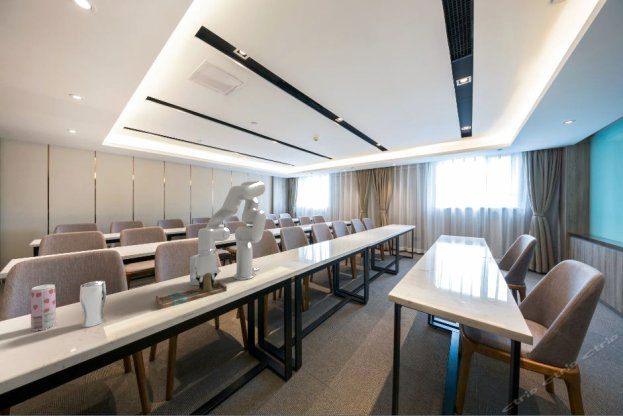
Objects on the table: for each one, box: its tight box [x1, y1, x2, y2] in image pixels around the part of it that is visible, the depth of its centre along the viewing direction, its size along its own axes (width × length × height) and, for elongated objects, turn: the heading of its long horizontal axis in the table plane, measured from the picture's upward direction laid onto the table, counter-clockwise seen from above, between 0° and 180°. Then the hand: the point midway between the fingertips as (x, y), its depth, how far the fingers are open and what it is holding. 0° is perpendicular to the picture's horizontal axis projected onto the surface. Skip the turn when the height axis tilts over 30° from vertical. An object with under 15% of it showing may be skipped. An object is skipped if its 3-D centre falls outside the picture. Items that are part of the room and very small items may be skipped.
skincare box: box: [189, 254, 199, 286], centre depth 123 cm, size 8×7×16 cm
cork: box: [199, 273, 214, 294], centre depth 110 cm, size 6×6×11 cm
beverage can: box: [30, 283, 57, 332], centre depth 78 cm, size 6×6×15 cm
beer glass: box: [79, 280, 107, 328], centre depth 81 cm, size 7×7×15 cm
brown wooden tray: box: [154, 280, 227, 310], centre depth 106 cm, size 29×11×2 cm, turn 134°
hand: (206, 287), depth 110 cm, fingers closed on cork, 4 cm apart
